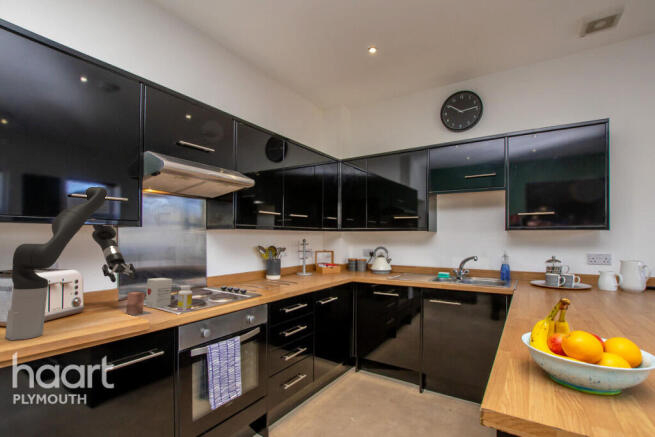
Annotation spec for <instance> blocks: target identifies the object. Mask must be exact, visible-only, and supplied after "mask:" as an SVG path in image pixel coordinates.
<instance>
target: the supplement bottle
mask: <svg viewBox="0 0 655 437" xmlns="http://www.w3.org/2000/svg"><path fill="white" fill-rule="evenodd" d="M191 289H192V288H191V285H188V284H187V285H181V286H180V290H179V291H178V293H177V294H178V295H177V309H176V310H177V312H181V313H183V312H185V313H186V312H191V311H192V305H193V302H192V301H193V291H192V290H191Z"/></svg>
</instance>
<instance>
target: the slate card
mask: <svg viewBox="0 0 655 437" xmlns="http://www.w3.org/2000/svg"><path fill="white" fill-rule="evenodd" d="M124 313H125V314H126V312H124ZM149 314H152V312H150V311H145V310H143V314H137V315H131V316H134V317H138V316H144V315H149Z"/></svg>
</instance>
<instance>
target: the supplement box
mask: <svg viewBox="0 0 655 437" xmlns="http://www.w3.org/2000/svg"><path fill="white" fill-rule="evenodd" d="M146 282H147V283H146V296H145V307H149V308H155V309H159V308H164V307H169V306H168V305H170V306H171V298H172V286H173V279H172V278H168V277H167V278H166V277H157V278H147V281H146Z"/></svg>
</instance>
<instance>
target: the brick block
mask: <svg viewBox="0 0 655 437" xmlns="http://www.w3.org/2000/svg"><path fill="white" fill-rule="evenodd" d="M126 299H127V302H126V312H125V313H126V314H128V315H137V314H143V311H144V302H145V301H144V300H145V292H143V291H132V292H127V298H126Z"/></svg>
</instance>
